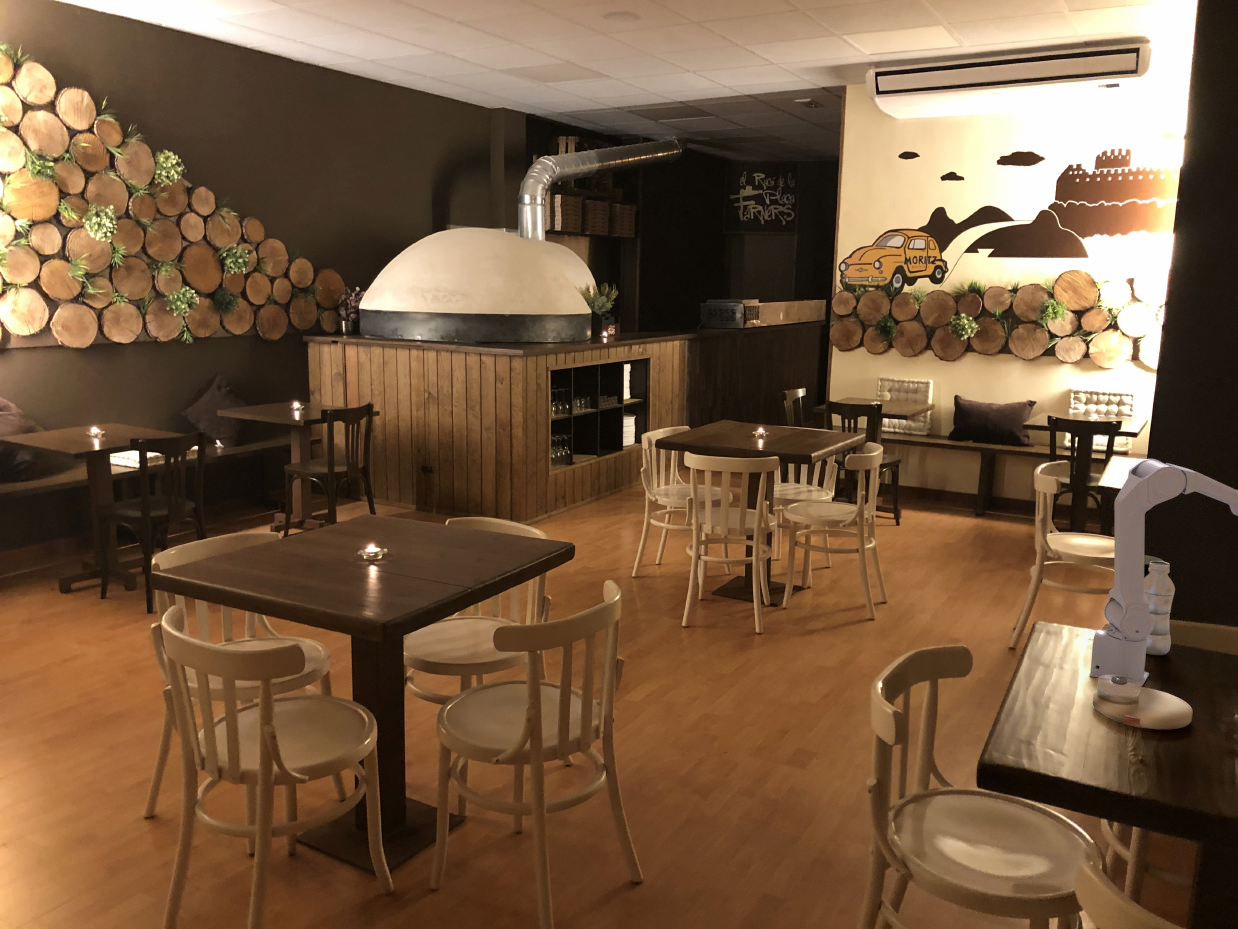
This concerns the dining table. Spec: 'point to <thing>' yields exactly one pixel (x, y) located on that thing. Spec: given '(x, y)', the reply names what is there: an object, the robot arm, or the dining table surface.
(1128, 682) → the cover
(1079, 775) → the dining table surface
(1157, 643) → the plastic bottle
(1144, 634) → the robot arm
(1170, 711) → the turntable
